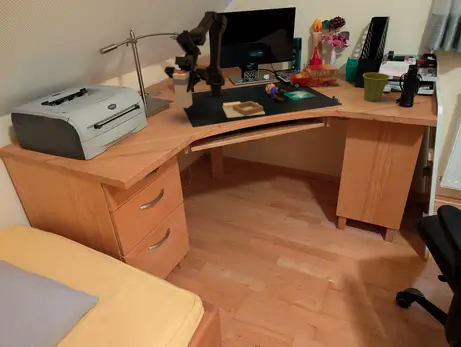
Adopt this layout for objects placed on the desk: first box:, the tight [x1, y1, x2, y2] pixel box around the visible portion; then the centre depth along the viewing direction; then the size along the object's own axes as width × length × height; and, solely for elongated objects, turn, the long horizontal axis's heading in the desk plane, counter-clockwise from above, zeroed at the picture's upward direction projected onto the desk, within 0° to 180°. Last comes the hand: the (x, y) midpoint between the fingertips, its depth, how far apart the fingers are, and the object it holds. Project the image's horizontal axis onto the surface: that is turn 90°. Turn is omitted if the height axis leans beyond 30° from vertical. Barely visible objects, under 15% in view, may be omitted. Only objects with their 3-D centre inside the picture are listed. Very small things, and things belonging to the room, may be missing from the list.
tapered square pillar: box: [172, 69, 193, 109], centre depth 148 cm, size 5×5×15 cm
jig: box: [222, 100, 266, 119], centre depth 160 cm, size 15×17×3 cm
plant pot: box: [362, 72, 391, 102], centre depth 166 cm, size 12×12×11 cm
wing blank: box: [222, 101, 241, 110], centre depth 164 cm, size 3×8×2 cm, turn 100°
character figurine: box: [265, 81, 288, 102], centre depth 173 cm, size 8×7×15 cm
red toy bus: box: [289, 63, 339, 89], centre depth 190 cm, size 11×25×10 cm, turn 89°
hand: (181, 91), depth 147 cm, fingers closed on tapered square pillar, 5 cm apart
